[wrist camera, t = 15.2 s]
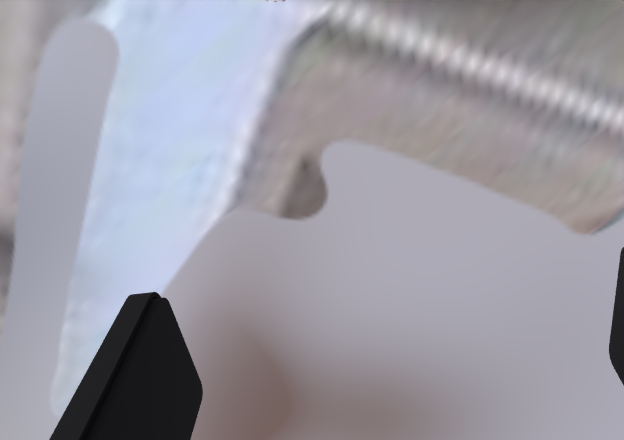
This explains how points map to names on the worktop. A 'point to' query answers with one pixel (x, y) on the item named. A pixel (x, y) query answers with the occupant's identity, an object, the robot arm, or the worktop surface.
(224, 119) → the worktop surface
